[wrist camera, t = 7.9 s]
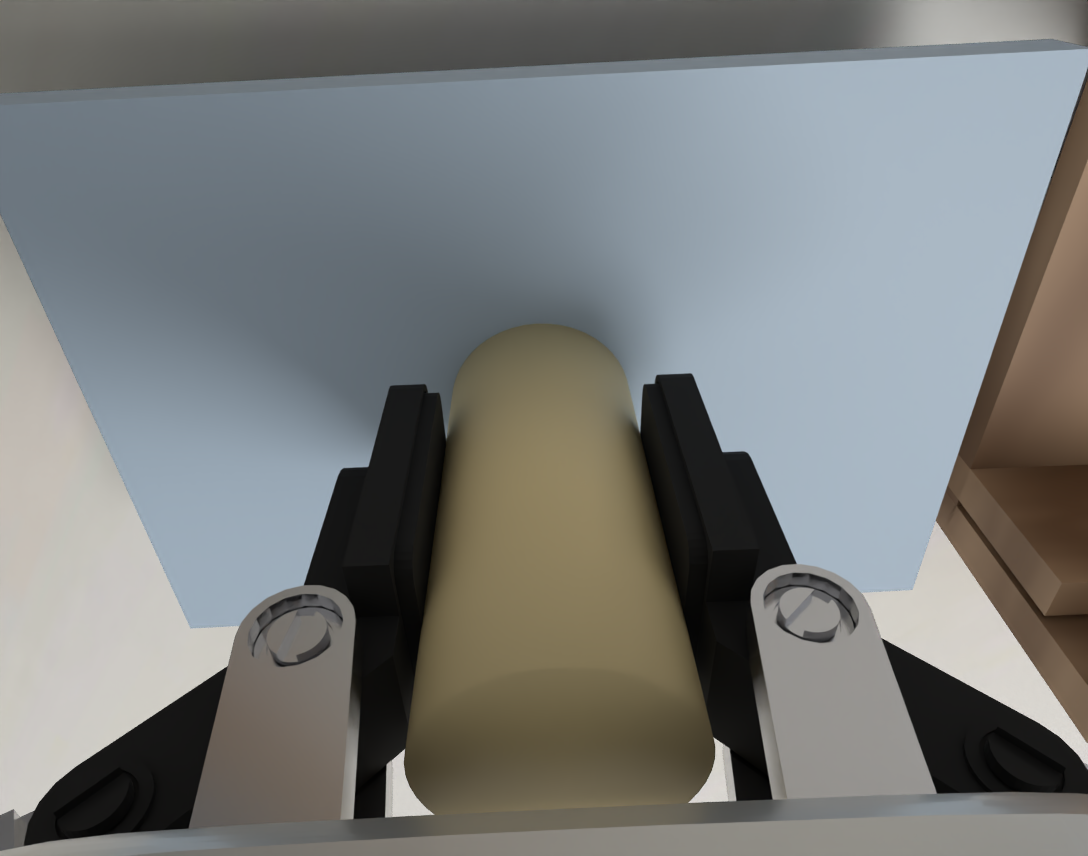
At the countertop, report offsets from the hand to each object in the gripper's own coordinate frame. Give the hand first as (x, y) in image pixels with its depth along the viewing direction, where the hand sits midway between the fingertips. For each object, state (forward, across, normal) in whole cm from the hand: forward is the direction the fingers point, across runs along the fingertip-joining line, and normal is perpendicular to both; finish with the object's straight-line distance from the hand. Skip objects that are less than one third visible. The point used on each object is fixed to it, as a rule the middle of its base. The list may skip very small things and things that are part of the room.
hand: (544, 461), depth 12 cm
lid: (+3, 0, 0) cm, 3 cm away
